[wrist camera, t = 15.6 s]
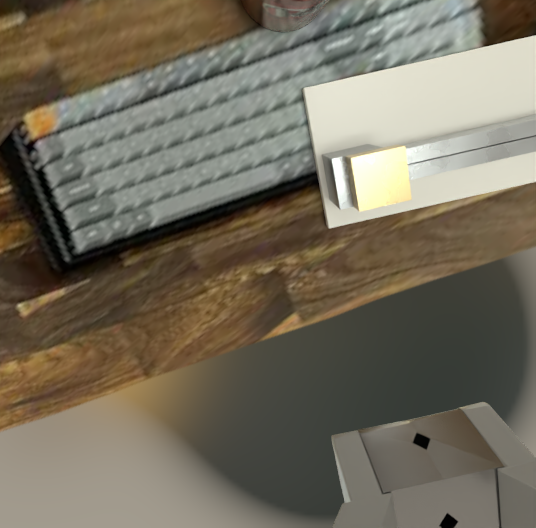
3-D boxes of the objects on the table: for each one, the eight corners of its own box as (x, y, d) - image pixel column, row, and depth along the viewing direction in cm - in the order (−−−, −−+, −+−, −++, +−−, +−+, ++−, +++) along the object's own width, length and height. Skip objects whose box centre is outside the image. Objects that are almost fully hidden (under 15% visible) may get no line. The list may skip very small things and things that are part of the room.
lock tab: (353, 207, 37) (359, 211, 35) (345, 156, 35) (351, 158, 34) (403, 195, 37) (411, 199, 35) (397, 144, 35) (405, 145, 34)
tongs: (329, 199, 41) (340, 209, 37) (321, 154, 40) (331, 159, 35) (659, 125, 41) (708, 126, 37) (661, 77, 39) (712, 72, 35)
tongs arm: (377, 164, 40) (388, 168, 37) (374, 147, 39) (385, 149, 37) (663, 99, 40) (696, 98, 37) (664, 81, 39) (698, 78, 36)
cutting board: (326, 225, 43) (329, 228, 42) (301, 88, 39) (303, 88, 38) (668, 148, 43) (680, 148, 41) (676, 3, 39) (689, 0, 38)
